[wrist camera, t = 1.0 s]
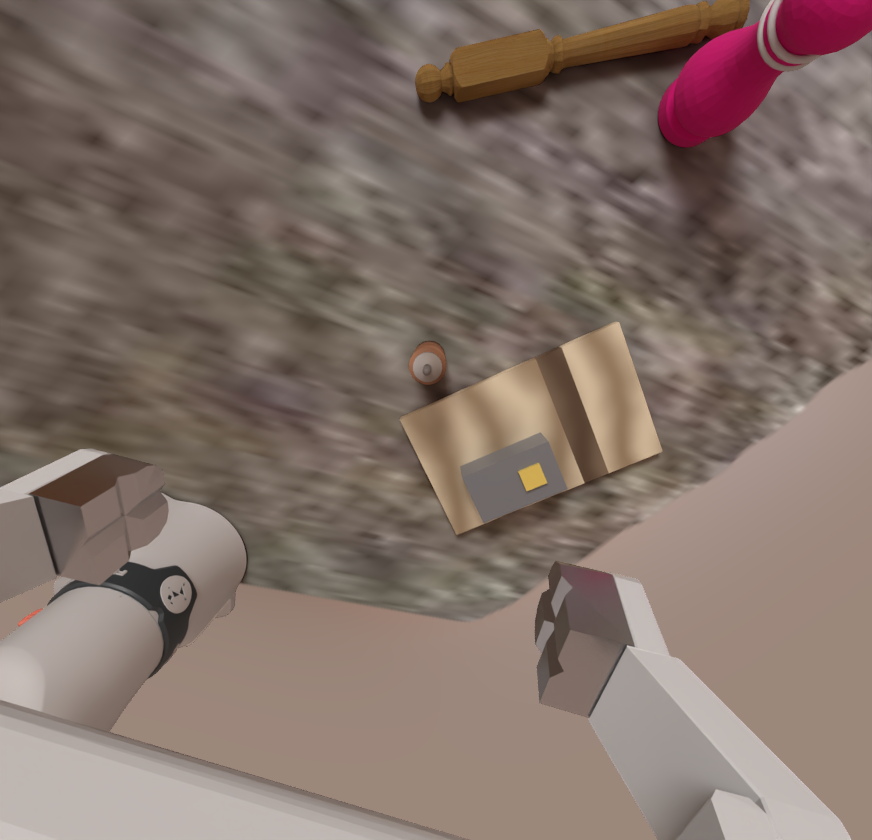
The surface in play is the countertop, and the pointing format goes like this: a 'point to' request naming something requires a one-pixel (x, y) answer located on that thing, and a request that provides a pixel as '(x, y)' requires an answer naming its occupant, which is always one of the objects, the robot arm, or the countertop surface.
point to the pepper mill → (755, 64)
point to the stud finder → (513, 477)
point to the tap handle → (571, 50)
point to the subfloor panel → (539, 419)
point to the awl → (428, 363)
